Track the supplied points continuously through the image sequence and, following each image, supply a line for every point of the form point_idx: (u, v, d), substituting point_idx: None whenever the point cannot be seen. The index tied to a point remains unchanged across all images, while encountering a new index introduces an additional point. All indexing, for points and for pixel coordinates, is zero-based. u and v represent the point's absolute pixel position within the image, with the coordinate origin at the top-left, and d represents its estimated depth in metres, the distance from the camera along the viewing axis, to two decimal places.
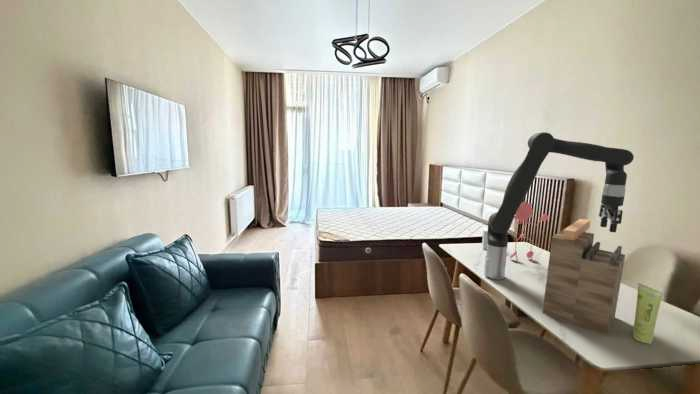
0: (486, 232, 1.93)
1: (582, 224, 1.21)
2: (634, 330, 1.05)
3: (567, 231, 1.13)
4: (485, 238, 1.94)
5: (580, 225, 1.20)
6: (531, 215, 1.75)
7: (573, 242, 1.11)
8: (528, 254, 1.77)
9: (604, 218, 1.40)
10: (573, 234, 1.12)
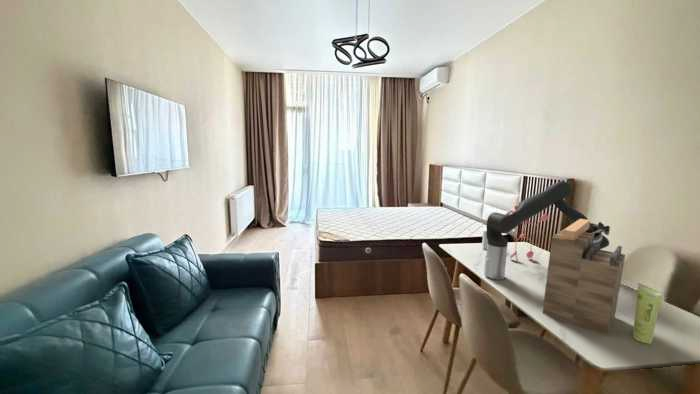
0: None
1: (582, 224, 1.21)
2: (634, 330, 1.05)
3: (567, 231, 1.13)
4: (485, 238, 1.94)
5: (580, 225, 1.20)
6: None
7: (573, 242, 1.11)
8: (528, 254, 1.77)
9: None
10: (573, 234, 1.12)
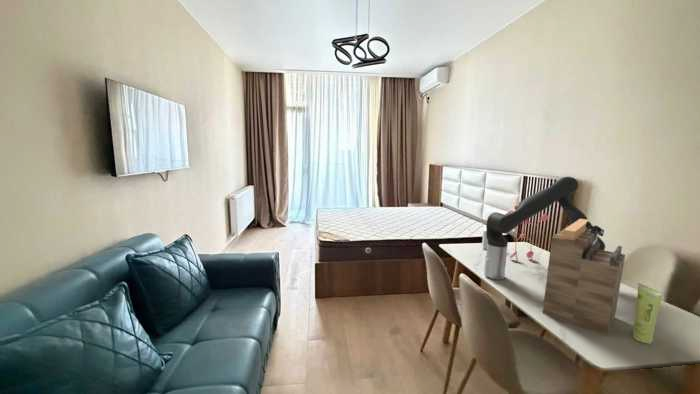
0: None
1: (582, 224, 1.21)
2: (634, 330, 1.05)
3: (567, 231, 1.13)
4: (485, 238, 1.94)
5: (580, 225, 1.20)
6: None
7: (573, 242, 1.11)
8: (528, 254, 1.77)
9: None
10: (573, 234, 1.12)
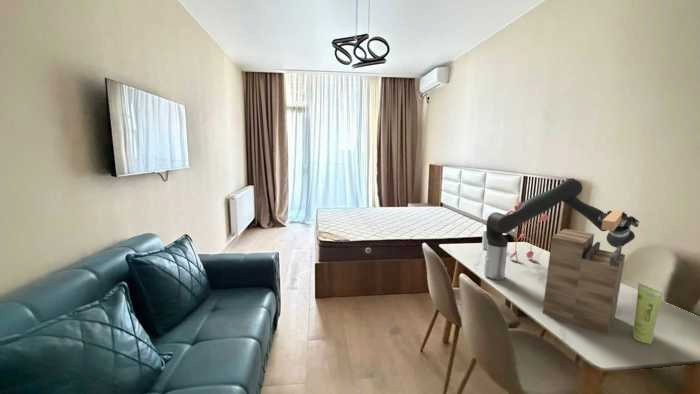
0: None
1: (618, 215, 1.20)
2: (634, 330, 1.05)
3: (606, 221, 1.12)
4: (485, 238, 1.94)
5: (617, 216, 1.19)
6: None
7: (573, 242, 1.11)
8: (528, 254, 1.77)
9: None
10: (613, 224, 1.11)
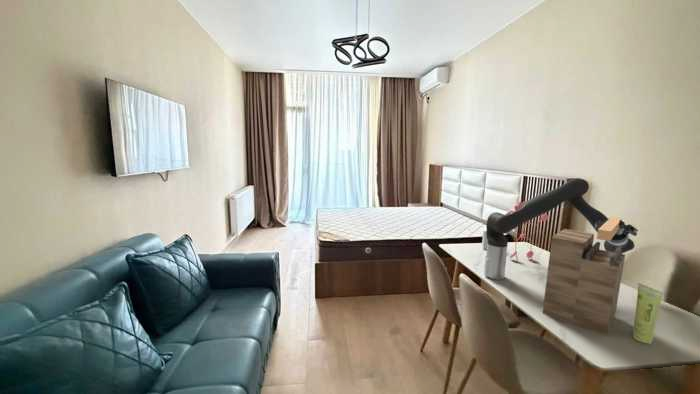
0: None
1: (615, 223, 1.13)
2: (634, 330, 1.05)
3: (602, 231, 1.05)
4: (485, 238, 1.94)
5: (614, 224, 1.12)
6: None
7: (573, 242, 1.11)
8: (528, 254, 1.77)
9: None
10: (609, 234, 1.04)
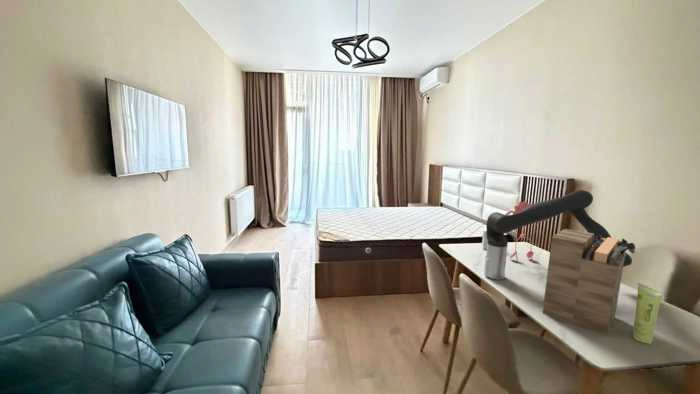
0: None
1: (612, 244, 1.15)
2: (634, 330, 1.05)
3: (599, 253, 1.07)
4: (485, 238, 1.94)
5: (611, 246, 1.13)
6: None
7: (573, 242, 1.11)
8: (528, 254, 1.77)
9: (601, 239, 1.24)
10: (605, 257, 1.05)
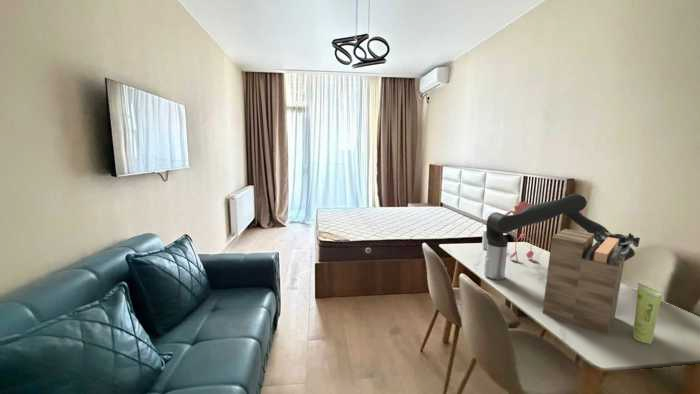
0: None
1: (612, 244, 1.15)
2: (634, 330, 1.05)
3: (599, 253, 1.07)
4: (485, 238, 1.94)
5: (611, 246, 1.13)
6: None
7: (573, 242, 1.11)
8: (528, 254, 1.77)
9: (604, 234, 1.33)
10: (605, 257, 1.05)
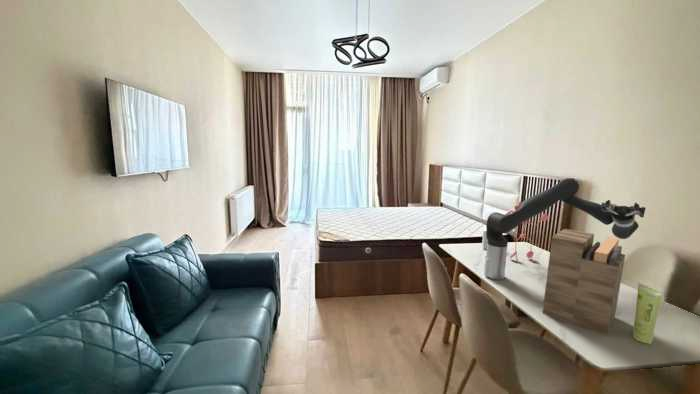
0: None
1: (612, 244, 1.15)
2: (634, 330, 1.05)
3: (599, 253, 1.07)
4: (485, 238, 1.94)
5: (611, 246, 1.13)
6: None
7: (573, 242, 1.11)
8: (528, 254, 1.77)
9: (609, 205, 1.32)
10: (605, 257, 1.05)
